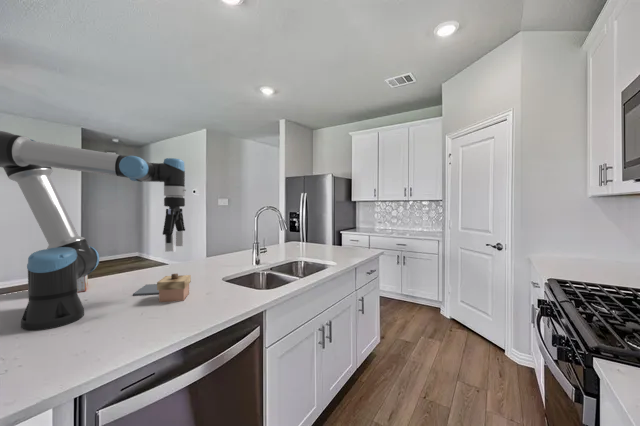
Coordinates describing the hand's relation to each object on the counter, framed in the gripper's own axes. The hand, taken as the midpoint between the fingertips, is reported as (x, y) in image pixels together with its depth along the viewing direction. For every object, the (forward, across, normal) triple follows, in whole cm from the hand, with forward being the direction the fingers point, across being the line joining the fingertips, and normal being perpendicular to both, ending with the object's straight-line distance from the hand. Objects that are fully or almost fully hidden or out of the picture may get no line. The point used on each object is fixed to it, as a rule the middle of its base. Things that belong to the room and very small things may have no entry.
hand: (174, 248), depth 115 cm
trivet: (+20, +13, +11) cm, 27 cm away
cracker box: (+21, +21, +46) cm, 55 cm away
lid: (+15, 0, 0) cm, 15 cm away
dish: (+20, 0, 0) cm, 20 cm away
